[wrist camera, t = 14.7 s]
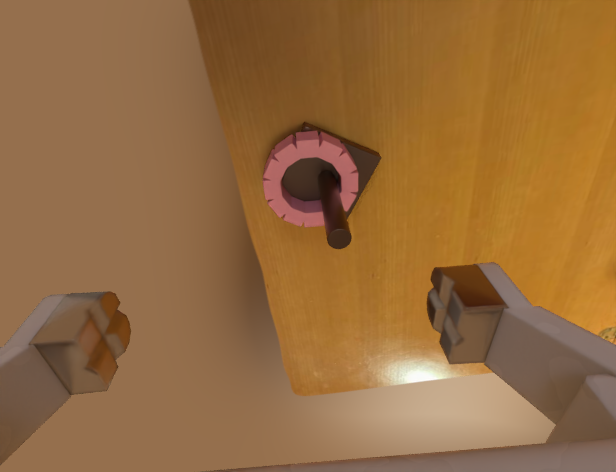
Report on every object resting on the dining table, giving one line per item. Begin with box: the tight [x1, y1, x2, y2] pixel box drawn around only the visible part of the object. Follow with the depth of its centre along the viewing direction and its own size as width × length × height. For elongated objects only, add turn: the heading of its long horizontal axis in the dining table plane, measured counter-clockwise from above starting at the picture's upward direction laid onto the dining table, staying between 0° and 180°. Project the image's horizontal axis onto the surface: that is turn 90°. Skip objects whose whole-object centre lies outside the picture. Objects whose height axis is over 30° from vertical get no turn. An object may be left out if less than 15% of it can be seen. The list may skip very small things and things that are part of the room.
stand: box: [282, 122, 381, 249], centre depth 35 cm, size 9×9×14 cm
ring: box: [263, 131, 358, 227], centre depth 38 cm, size 10×10×3 cm
